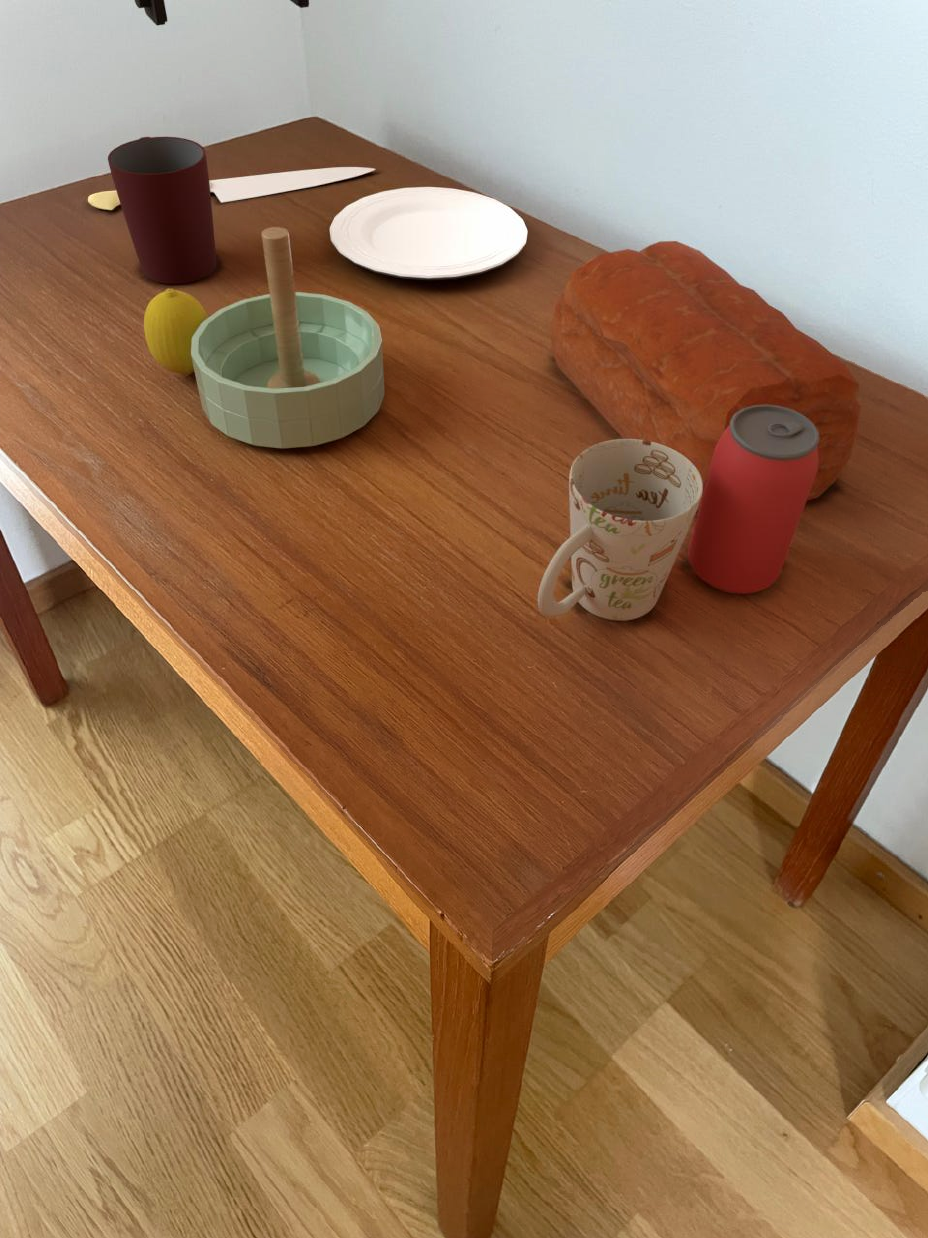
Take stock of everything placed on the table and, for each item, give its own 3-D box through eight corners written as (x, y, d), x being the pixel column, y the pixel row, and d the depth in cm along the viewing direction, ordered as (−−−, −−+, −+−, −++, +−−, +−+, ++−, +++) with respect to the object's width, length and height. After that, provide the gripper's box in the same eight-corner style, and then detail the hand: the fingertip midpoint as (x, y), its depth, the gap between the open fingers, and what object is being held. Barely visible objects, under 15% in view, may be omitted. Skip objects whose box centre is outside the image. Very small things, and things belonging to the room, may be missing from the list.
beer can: (796, 588, 68) (848, 451, 59) (711, 606, 67) (753, 468, 58) (751, 528, 72) (794, 392, 64) (671, 544, 71) (704, 407, 62)
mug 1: (121, 242, 102) (94, 132, 94) (205, 228, 104) (185, 119, 96) (144, 295, 94) (117, 180, 86) (233, 278, 97) (215, 165, 89)
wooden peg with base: (279, 413, 80) (256, 250, 70) (261, 386, 83) (237, 225, 72) (328, 400, 81) (313, 239, 71) (309, 374, 84) (292, 215, 74)
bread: (676, 323, 93) (698, 214, 85) (860, 486, 76) (908, 369, 68) (531, 356, 88) (541, 244, 80) (695, 538, 72) (726, 419, 64)
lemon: (213, 392, 83) (196, 307, 77) (148, 391, 83) (127, 305, 77) (224, 358, 87) (209, 274, 81) (163, 356, 87) (143, 272, 81)
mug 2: (698, 589, 68) (729, 477, 61) (588, 689, 62) (608, 578, 54) (603, 534, 72) (622, 422, 64) (491, 623, 65) (497, 510, 58)
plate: (302, 277, 97) (300, 259, 96) (365, 192, 111) (364, 176, 110) (504, 306, 94) (505, 288, 93) (543, 215, 108) (544, 198, 107)
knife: (382, 177, 113) (371, 155, 115) (90, 213, 105) (85, 189, 107) (382, 187, 114) (371, 165, 116) (93, 223, 106) (87, 199, 108)
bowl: (237, 476, 75) (225, 411, 71) (182, 378, 85) (168, 315, 80) (413, 426, 80) (412, 363, 76) (343, 338, 90) (338, 277, 85)
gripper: (304, -357, 57) (328, -18, 69) (-3, -360, 51) (83, 10, 64) (354, -350, 52) (370, 11, 65) (24, -352, 47) (111, 43, 59)
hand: (228, 10), depth 64 cm, fingers open, 9 cm apart
